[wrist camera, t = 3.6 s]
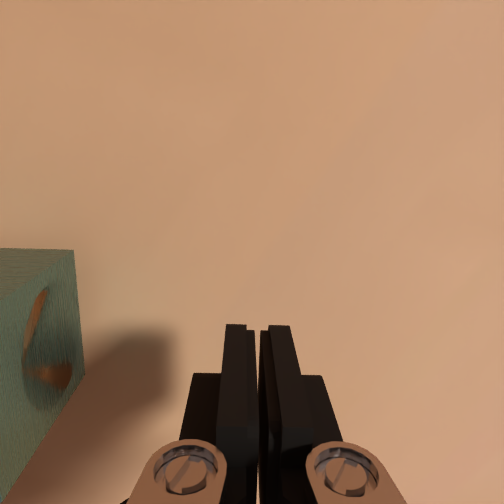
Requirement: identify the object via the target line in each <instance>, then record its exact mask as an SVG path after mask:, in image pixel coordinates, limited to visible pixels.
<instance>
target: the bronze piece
mask: <svg viewBox="0 0 504 504" xmlns="http://www.w3.org/2000/svg"><path fill="white" fill-rule="evenodd" d="M84 375H85V368H84V357H83V346H82V336H81V325H80V314H79V303H78V293H77V282H76V271H75V260H74V250H57V249H18V248H0V502H3V500H4V499H5V497H6V496H7V494H8V492H9V491H10V489H11V488H12V486H13V485H14V483H15V482H16V480H17V479H18V477H19V476H20V474H21V472H22V471H23V469H24V468H25V466H26V465H27V463H28V462H29V460H30V459H31V457H32V455H33V454H34V452H35V451H36V449H37V448H38V446H39V445H40V443H41V442H42V440H43V438H44V437H45V435H46V434H47V432H48V431H49V429H50V428H51V426H52V425H53V423H54V422H55V420H56V418H57V417H58V415H59V414H60V412H61V411H62V409H63V408H64V406H65V405H66V403H67V401H68V400H69V398H70V397H71V395H72V394H73V392H74V391H75V389H76V388H77V386H78V385H79V383H80V381H81V380H82V378H83V377H84Z"/></svg>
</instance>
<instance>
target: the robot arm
mask: <svg viewBox="0 0 504 504" xmlns="http://www.w3.org/2000/svg"><path fill="white" fill-rule="evenodd" d="M257 473H258V474H259V498H260V504H407V503H406V501H405V500H404V498H403V496H402V495H401V493H400V491H399V490H398V488H397V487H396V485H395V483H394V482H393V480H392V478H391V477H390V475H389V474H388V472H387V470H386V469H385V467H384V466H383V464H382V463H381V462H380V461H379V460H378V458H377V457H376V456H374V455H373V454H372V453H370V452H369V451H368V450H366V449H364V448H362V447H360V446H358V445H355V444H351V443H347V442H343V439H342V436H341V433H340V430H339V427H338V424H337V421H336V418H335V414H334V411H333V408H332V405H331V402H330V399H329V396H328V393H327V390H326V387H325V384H324V381H323V378H322V376H320V375H301V372H300V367H299V363H298V359H297V355H296V351H295V347H294V342H293V338H292V334H291V330H290V326H285V325H269V327H268V331H266V330H261V333H260V354H259V378H258V389H257V370H256V351H255V332H254V330H247V328H246V325H241V324H226V331H225V341H224V352H223V362H222V372H221V373H194V374H193V377H192V381H191V386H190V391H189V395H188V400H187V405H186V409H185V414H184V418H183V423H182V428H181V432H180V437H179V441H174V442H171V443H169V444H167V445H165V446H163V447H161V448H160V449H159V450H157V451H156V452H155V453H154V454H153V455H152V456H151V458H150V459H149V460H148V462H147V463H146V465H145V467H144V469H143V471H142V473H141V475H140V477H139V479H138V481H137V483H136V485H135V487H134V489H133V491H132V493H131V495H130V497H129V498H128V499H126V500H125V501H123V502H122V503H120V504H256V495H257Z"/></svg>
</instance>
